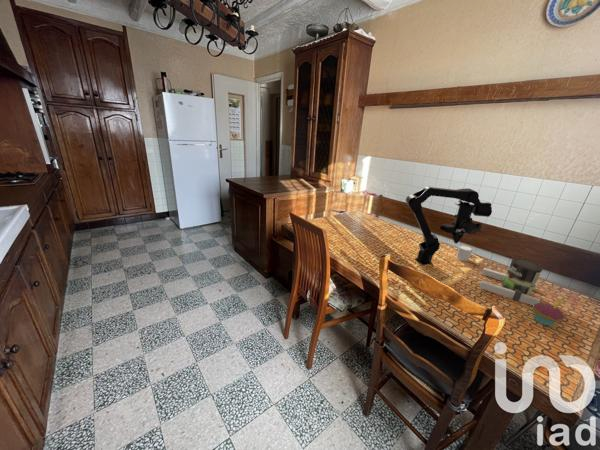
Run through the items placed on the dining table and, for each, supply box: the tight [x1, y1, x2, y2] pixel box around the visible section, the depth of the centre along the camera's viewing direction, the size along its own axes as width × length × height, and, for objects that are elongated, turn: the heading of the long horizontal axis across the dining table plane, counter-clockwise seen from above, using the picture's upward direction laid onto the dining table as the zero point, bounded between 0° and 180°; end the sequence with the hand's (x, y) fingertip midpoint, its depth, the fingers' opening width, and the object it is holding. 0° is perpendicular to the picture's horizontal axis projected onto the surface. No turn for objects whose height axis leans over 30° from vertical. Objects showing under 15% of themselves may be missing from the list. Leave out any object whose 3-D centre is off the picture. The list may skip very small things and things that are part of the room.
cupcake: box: [531, 296, 565, 327], centre depth 90 cm, size 9×8×12 cm
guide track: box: [478, 267, 541, 306], centre depth 112 cm, size 20×18×4 cm
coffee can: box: [501, 257, 544, 296], centre depth 108 cm, size 10×10×14 cm
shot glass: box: [456, 244, 474, 262], centre depth 137 cm, size 7×7×7 cm
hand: (455, 243), depth 126 cm, fingers closed
